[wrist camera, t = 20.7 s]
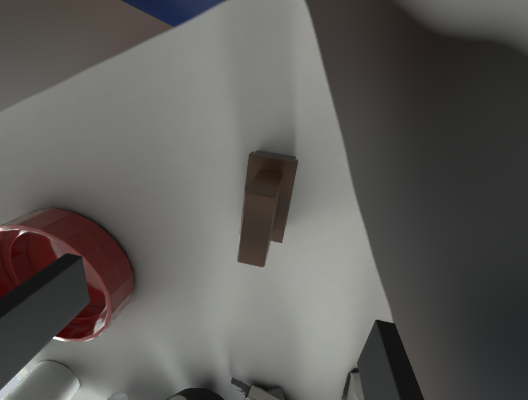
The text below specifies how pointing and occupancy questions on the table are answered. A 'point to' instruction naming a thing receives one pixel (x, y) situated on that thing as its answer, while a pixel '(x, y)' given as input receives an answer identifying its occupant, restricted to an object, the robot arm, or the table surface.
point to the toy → (196, 395)
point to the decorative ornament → (353, 386)
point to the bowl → (56, 245)
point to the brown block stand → (265, 204)
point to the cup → (46, 383)
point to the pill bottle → (118, 397)
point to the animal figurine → (257, 391)
